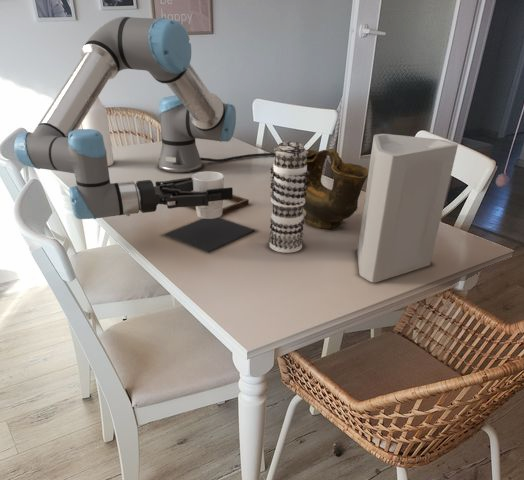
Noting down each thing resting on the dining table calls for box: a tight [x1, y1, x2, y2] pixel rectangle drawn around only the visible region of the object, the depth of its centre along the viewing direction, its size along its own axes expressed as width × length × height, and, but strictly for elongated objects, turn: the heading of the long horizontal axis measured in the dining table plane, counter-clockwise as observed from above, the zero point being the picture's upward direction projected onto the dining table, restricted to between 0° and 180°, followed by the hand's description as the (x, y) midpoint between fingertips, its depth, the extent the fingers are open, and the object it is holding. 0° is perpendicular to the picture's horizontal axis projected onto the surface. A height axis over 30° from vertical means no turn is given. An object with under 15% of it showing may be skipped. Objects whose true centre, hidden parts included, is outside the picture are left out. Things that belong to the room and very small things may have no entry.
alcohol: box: [81, 96, 115, 167], centre depth 177 cm, size 9×9×30 cm
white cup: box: [191, 170, 225, 219], centre depth 132 cm, size 8×8×10 cm
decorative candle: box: [268, 141, 309, 254], centre depth 125 cm, size 9×9×25 cm
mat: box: [164, 217, 255, 253], centre depth 138 cm, size 18×16×1 cm
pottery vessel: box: [303, 148, 369, 230], centre depth 140 cm, size 25×11×20 cm, turn 40°
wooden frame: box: [189, 194, 250, 217], centre depth 154 cm, size 14×14×2 cm
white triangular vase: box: [356, 133, 459, 284], centre depth 118 cm, size 19×15×28 cm
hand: (226, 188), depth 132 cm, fingers closed on white cup, 8 cm apart
